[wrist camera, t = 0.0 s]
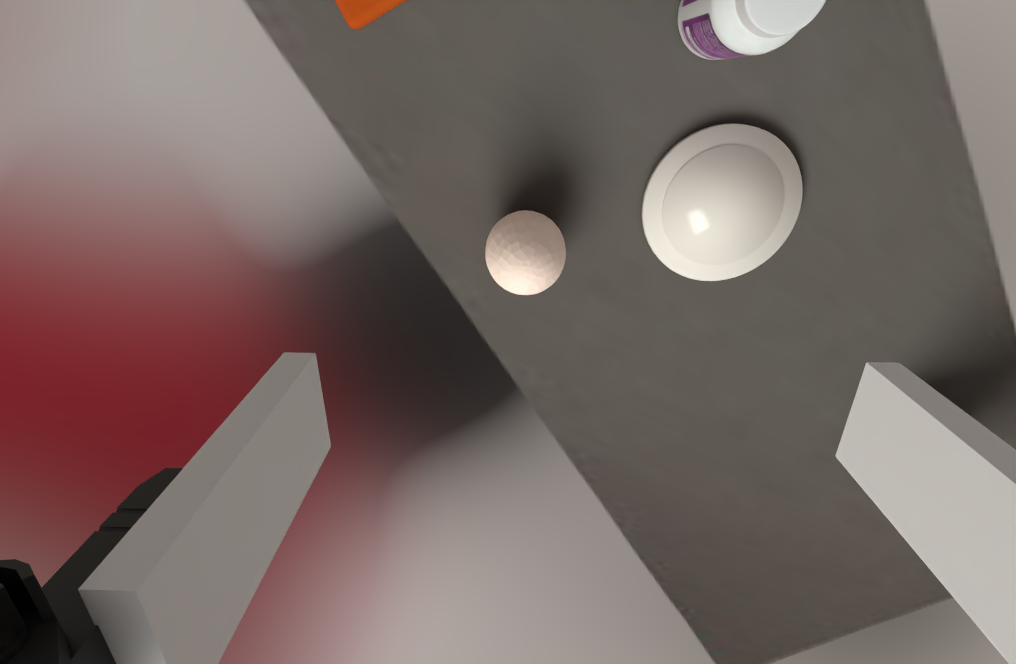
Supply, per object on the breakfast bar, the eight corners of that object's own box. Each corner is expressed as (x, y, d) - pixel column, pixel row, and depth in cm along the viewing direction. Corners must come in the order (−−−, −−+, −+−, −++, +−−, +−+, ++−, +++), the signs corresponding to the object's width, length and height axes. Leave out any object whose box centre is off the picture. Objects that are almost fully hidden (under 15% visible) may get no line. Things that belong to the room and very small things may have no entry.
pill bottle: (763, 49, 34) (846, 38, 26) (679, 68, 35) (732, 65, 26) (762, -51, 32) (851, -99, 23) (672, -28, 33) (727, -67, 24)
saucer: (650, 122, 36) (653, 123, 35) (814, 124, 36) (821, 125, 35) (633, 276, 41) (636, 280, 40) (778, 278, 41) (783, 282, 40)
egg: (552, 191, 38) (559, 217, 31) (569, 262, 41) (579, 301, 34) (479, 212, 39) (469, 241, 32) (499, 280, 41) (495, 322, 34)
